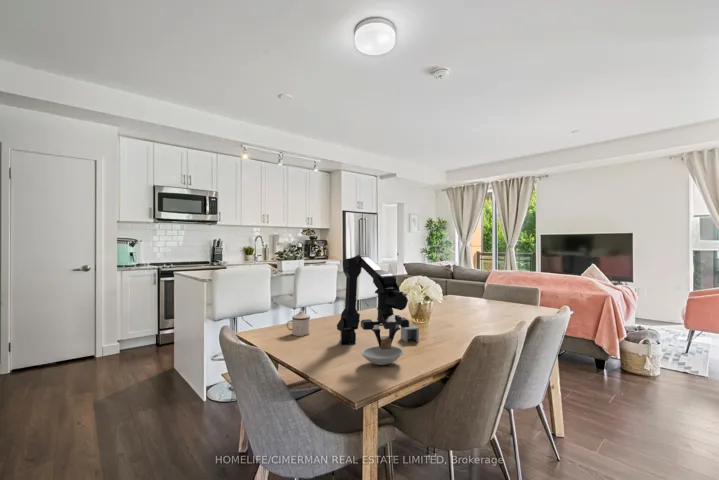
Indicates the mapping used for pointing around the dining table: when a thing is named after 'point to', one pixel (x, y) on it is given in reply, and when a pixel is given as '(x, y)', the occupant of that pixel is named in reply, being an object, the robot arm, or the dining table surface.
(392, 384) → the dining table surface
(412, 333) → the grey cover
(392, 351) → the dish
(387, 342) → the walnut block
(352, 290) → the robot arm
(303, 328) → the teacup with lid
